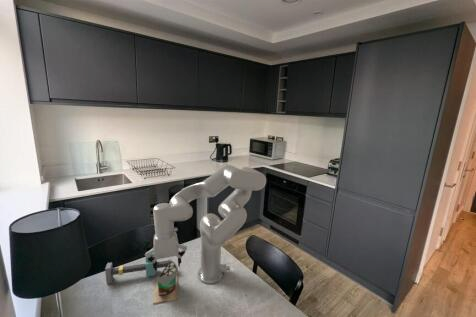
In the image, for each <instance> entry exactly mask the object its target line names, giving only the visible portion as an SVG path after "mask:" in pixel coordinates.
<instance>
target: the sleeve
mask: <svg viewBox="0 0 476 317" xmlns="http://www.w3.org/2000/svg"><path fill="white" fill-rule="evenodd" d="M150 256H152V257H153V256H154V253H152V254H150ZM145 264H146V270H145V276H146V277H151V276H156V271H155V268H154V269H153V263H152V262H151V261H149V260H148V259H147V258H146V257H145Z"/></svg>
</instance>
